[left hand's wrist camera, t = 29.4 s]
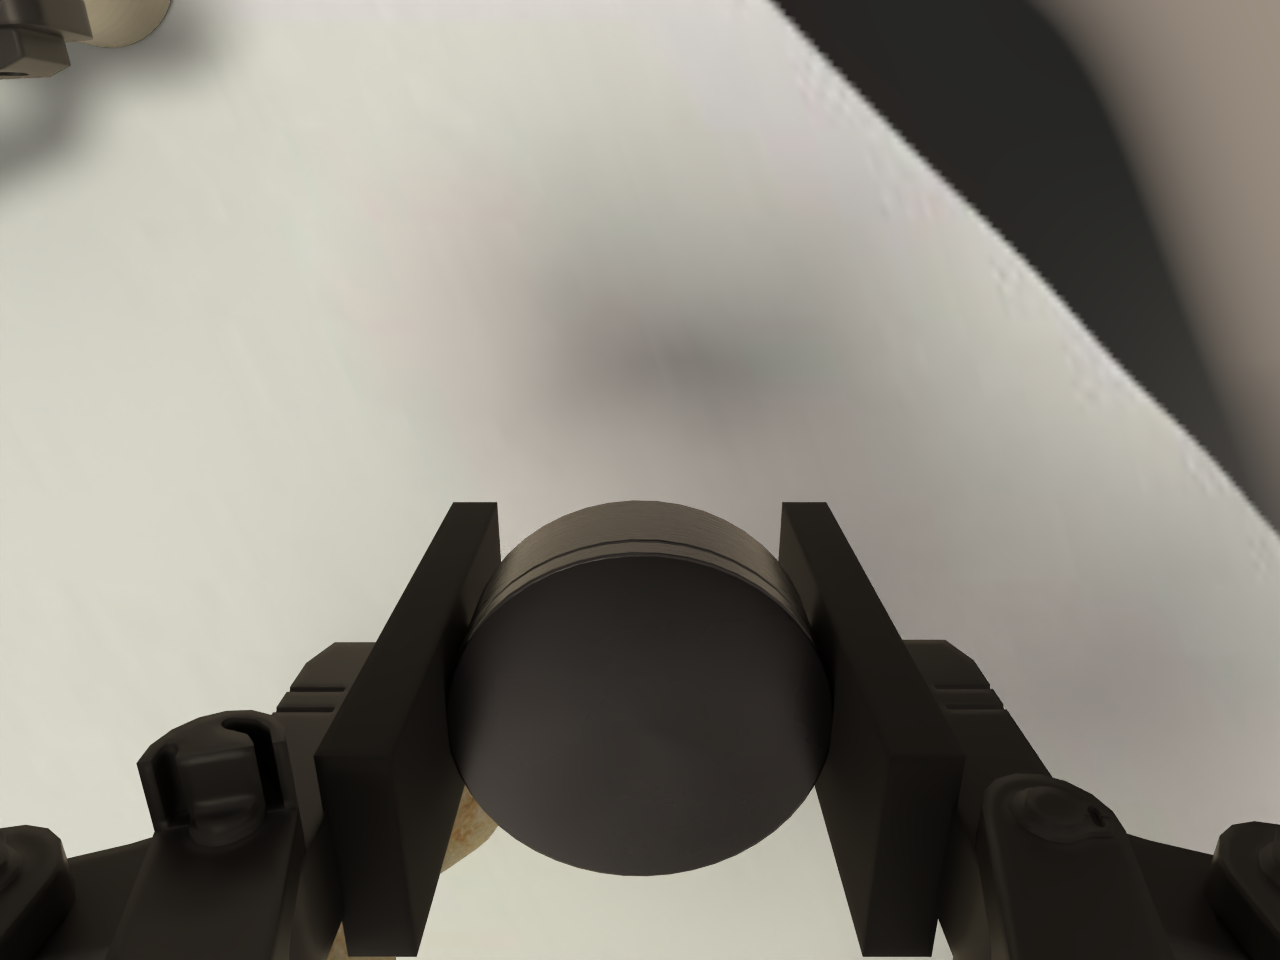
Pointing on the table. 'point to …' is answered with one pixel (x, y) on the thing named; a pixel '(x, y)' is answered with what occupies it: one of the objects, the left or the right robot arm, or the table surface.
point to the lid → (639, 692)
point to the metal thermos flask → (123, 20)
